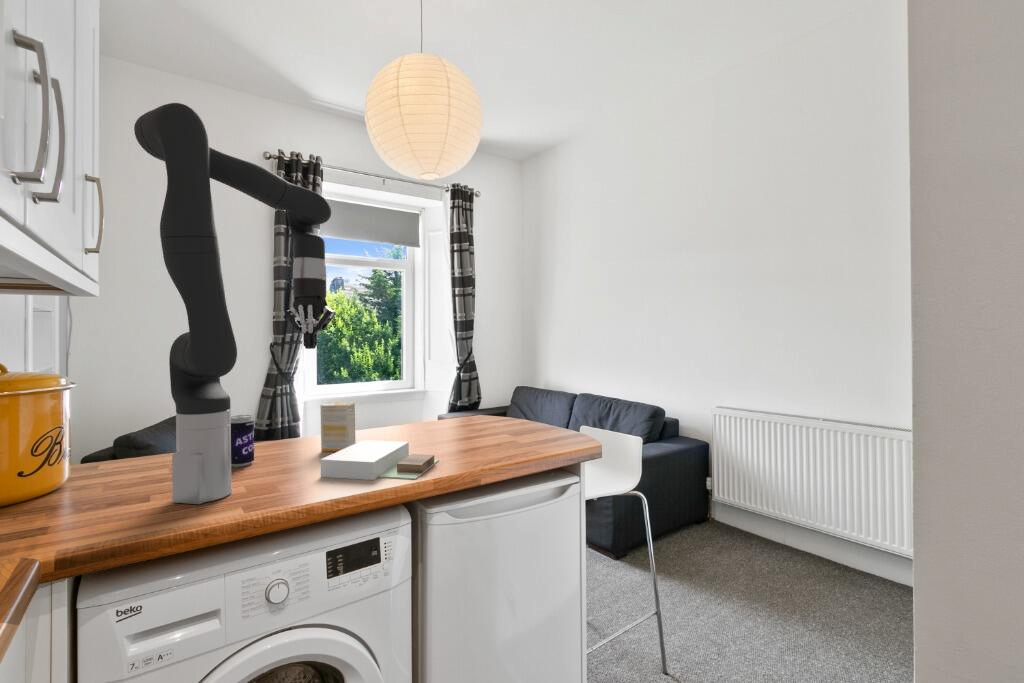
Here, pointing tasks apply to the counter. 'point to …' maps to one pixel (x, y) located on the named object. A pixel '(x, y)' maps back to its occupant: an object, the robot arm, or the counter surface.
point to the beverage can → (242, 440)
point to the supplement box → (337, 426)
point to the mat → (401, 473)
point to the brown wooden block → (415, 463)
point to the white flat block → (364, 459)
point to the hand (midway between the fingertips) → (310, 348)
